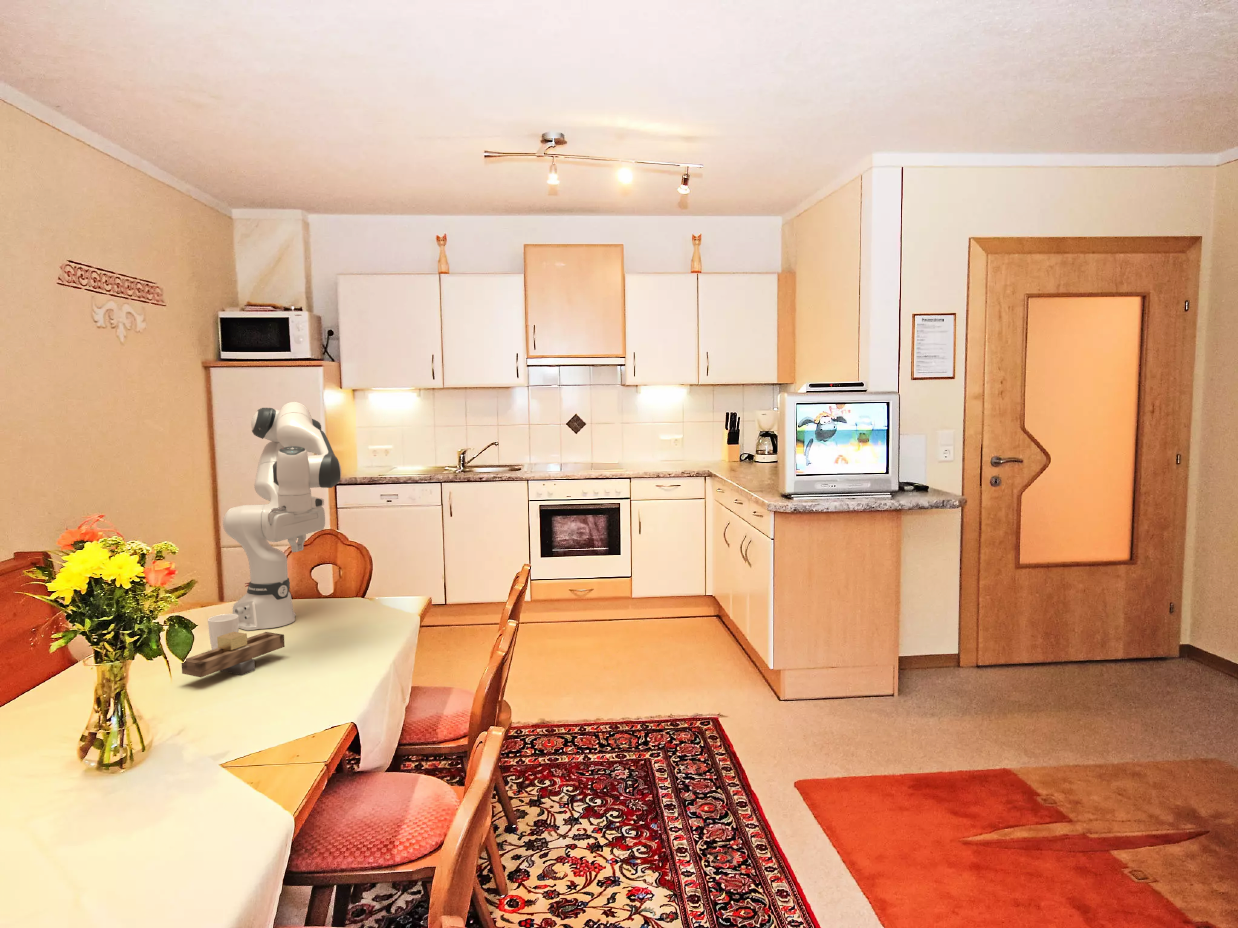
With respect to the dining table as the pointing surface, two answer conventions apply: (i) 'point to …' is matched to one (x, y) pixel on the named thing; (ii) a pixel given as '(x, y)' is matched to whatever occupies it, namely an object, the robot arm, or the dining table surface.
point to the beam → (233, 656)
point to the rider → (232, 641)
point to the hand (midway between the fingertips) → (297, 551)
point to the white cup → (221, 627)
